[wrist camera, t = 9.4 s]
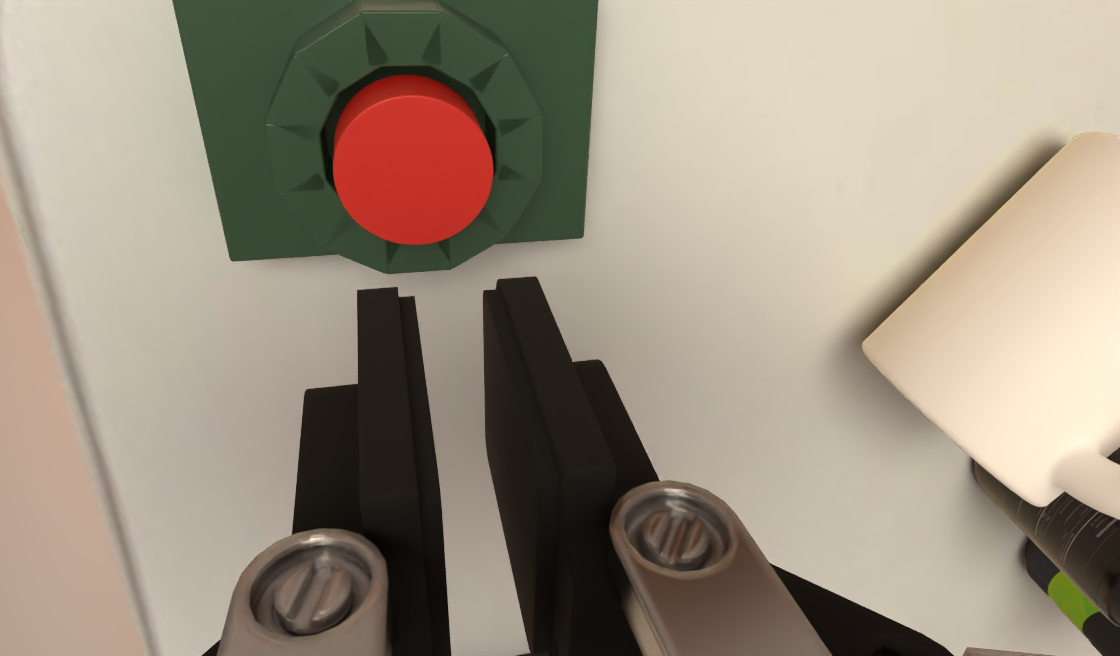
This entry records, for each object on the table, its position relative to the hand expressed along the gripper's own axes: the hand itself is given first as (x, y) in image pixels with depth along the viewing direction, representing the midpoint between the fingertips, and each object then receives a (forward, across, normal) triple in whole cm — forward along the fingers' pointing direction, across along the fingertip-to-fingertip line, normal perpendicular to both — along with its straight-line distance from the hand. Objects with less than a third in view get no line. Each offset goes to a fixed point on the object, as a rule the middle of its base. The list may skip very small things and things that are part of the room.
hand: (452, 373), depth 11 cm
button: (+10, 0, 0) cm, 10 cm away
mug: (+13, -22, +7) cm, 27 cm away
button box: (+13, 0, 0) cm, 13 cm away
